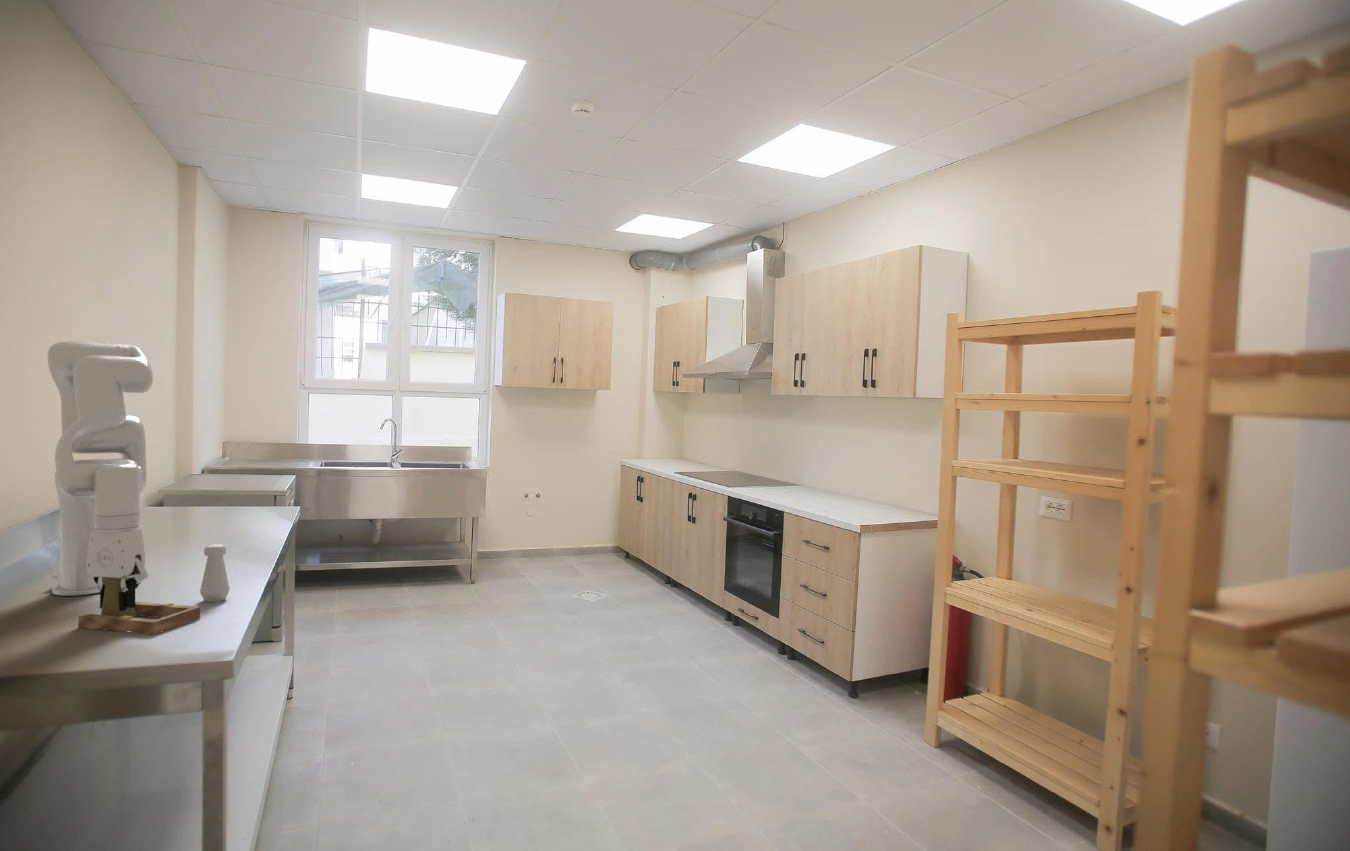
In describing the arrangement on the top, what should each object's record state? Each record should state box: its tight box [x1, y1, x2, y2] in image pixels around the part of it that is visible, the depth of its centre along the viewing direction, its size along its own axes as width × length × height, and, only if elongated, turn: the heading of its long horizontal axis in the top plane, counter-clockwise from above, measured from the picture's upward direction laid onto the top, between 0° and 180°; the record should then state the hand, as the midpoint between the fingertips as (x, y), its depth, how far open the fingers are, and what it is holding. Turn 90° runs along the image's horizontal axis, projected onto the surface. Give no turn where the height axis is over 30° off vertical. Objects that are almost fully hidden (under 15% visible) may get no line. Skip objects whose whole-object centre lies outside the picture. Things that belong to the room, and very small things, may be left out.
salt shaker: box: [199, 543, 231, 603], centre depth 167 cm, size 6×6×13 cm
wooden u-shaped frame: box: [77, 601, 201, 635], centre depth 150 cm, size 18×11×3 cm, turn 80°
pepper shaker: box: [100, 577, 137, 618], centre depth 151 cm, size 6×6×11 cm
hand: (117, 607), depth 151 cm, fingers closed on pepper shaker, 3 cm apart
